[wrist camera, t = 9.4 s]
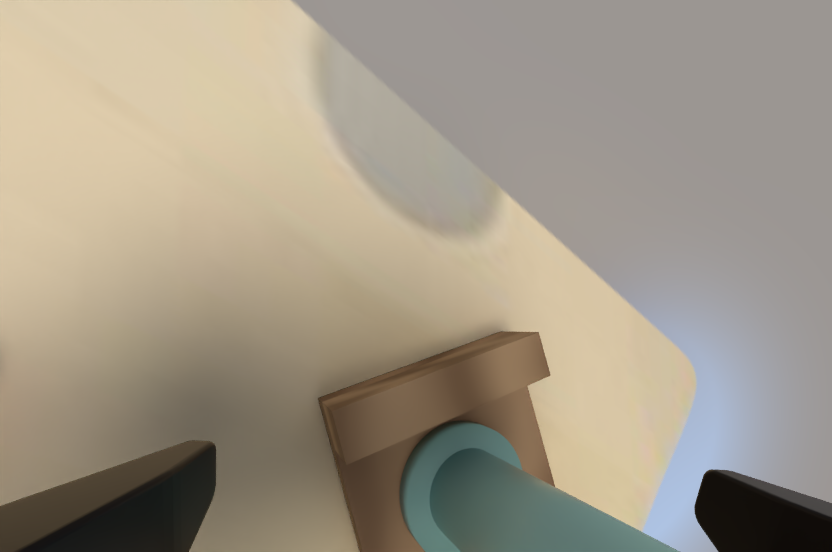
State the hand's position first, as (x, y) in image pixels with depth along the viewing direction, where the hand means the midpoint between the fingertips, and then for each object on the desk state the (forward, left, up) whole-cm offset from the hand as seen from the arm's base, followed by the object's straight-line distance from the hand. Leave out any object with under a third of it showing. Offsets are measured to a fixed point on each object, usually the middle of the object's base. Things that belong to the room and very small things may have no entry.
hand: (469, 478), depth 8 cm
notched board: (-6, -8, -16) cm, 19 cm away
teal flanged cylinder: (-6, -8, -15) cm, 18 cm away
